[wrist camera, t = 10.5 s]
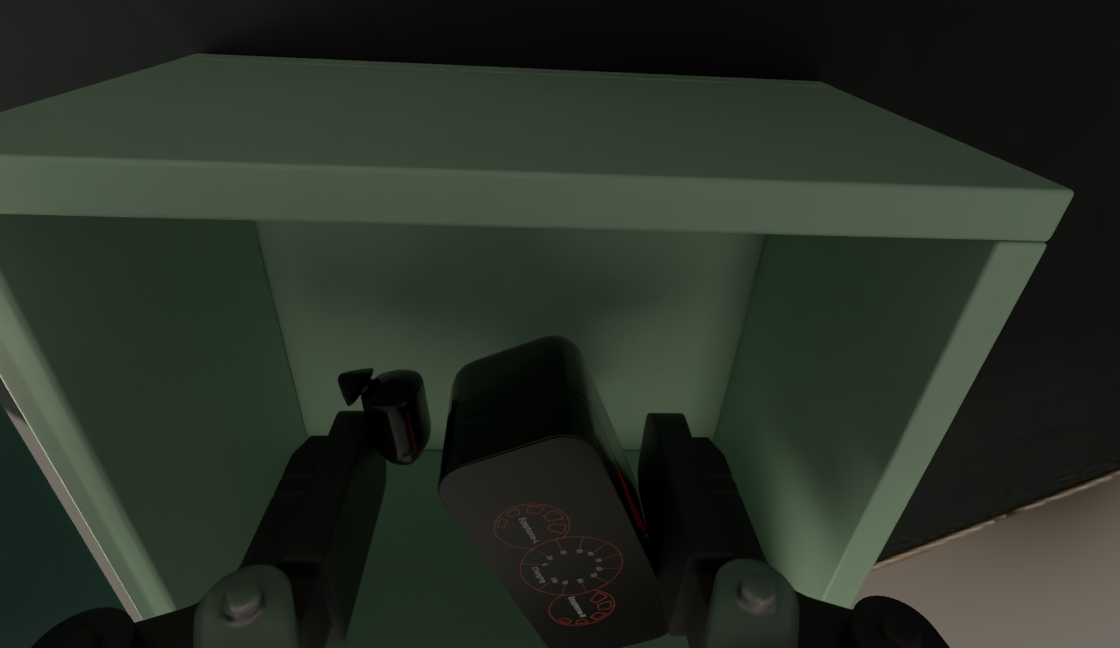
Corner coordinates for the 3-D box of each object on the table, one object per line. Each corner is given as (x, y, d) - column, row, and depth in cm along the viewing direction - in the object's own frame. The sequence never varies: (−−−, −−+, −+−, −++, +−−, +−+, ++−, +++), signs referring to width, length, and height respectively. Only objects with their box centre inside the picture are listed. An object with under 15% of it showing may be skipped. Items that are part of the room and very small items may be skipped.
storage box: (822, 81, 15) (1079, 190, 8) (721, 449, 22) (813, 680, 15) (195, 53, 14) (-137, 150, 7) (299, 449, 21) (185, 697, 14)
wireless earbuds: (555, 282, 11) (569, 387, 8) (651, 508, 15) (682, 632, 12) (342, 358, 12) (291, 479, 9) (485, 557, 16) (480, 685, 13)
